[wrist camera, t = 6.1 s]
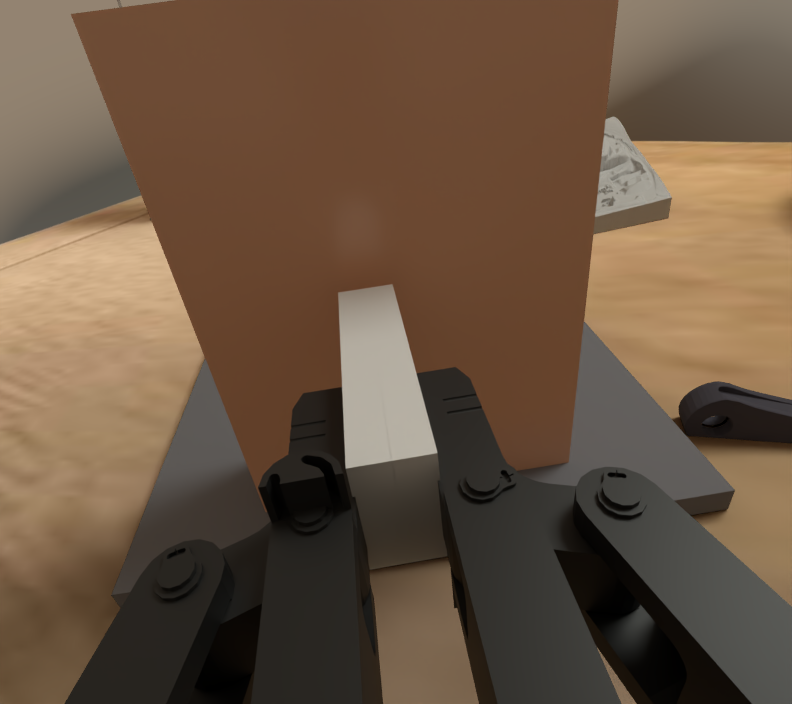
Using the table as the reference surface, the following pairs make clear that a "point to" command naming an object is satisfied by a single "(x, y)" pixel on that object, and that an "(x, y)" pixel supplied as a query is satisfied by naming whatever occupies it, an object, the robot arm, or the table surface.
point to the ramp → (627, 184)
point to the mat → (590, 449)
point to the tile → (370, 189)
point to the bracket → (736, 414)
